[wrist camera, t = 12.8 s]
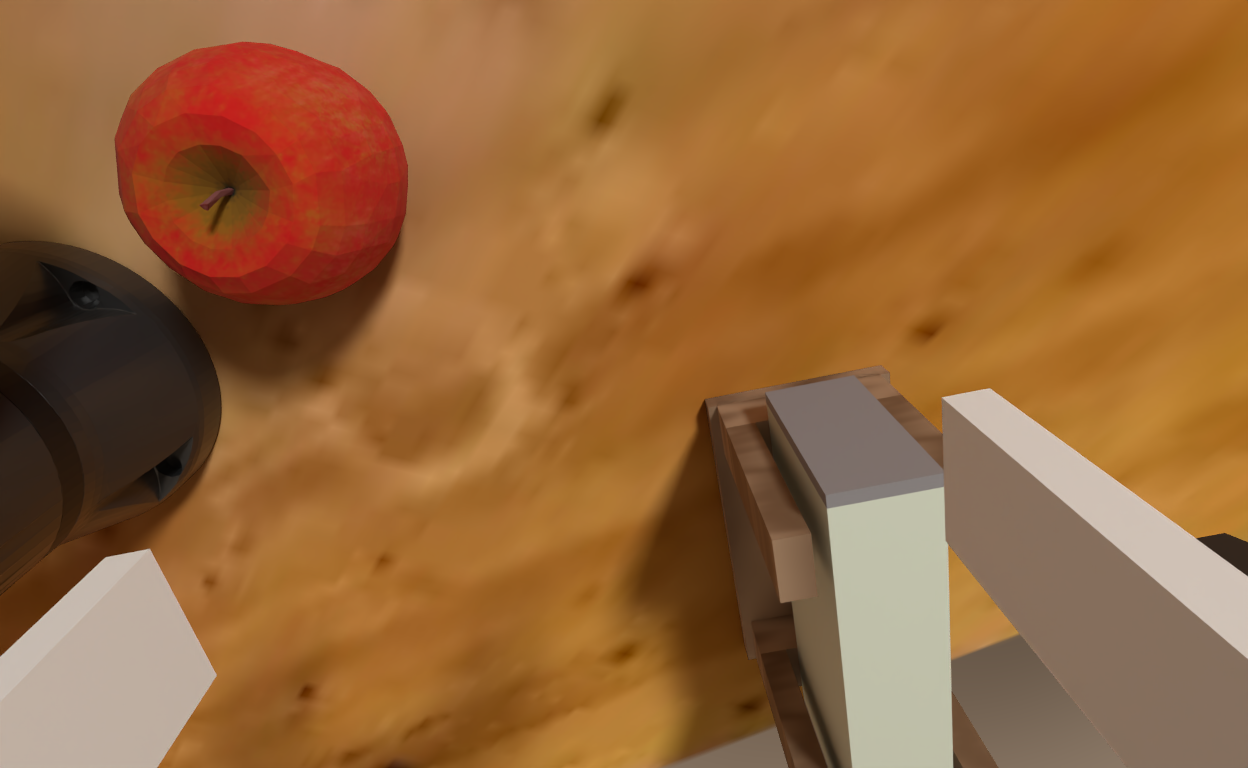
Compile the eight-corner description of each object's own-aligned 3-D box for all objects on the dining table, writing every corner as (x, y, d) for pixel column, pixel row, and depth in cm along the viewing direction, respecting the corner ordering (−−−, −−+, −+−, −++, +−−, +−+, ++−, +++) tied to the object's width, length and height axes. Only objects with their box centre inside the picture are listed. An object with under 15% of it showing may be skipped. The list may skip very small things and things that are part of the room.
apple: (148, 114, 34) (-36, 120, 24) (344, 2, 32) (236, -39, 22) (285, 312, 37) (175, 389, 28) (466, 220, 36) (419, 267, 26)
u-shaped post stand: (744, 646, 47) (803, 856, 34) (704, 399, 40) (759, 543, 27) (896, 618, 47) (1013, 820, 34) (881, 365, 40) (1020, 494, 27)
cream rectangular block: (804, 705, 44) (862, 869, 34) (764, 392, 36) (825, 495, 27) (877, 692, 44) (955, 853, 34) (853, 375, 36) (946, 472, 26)
